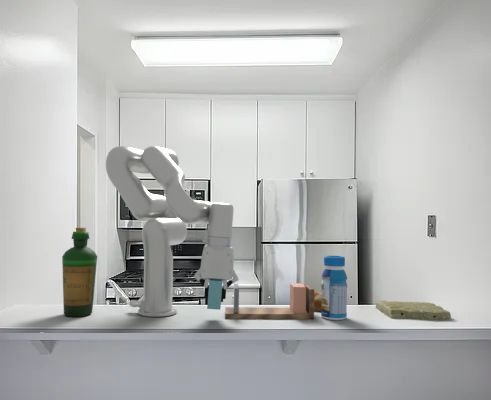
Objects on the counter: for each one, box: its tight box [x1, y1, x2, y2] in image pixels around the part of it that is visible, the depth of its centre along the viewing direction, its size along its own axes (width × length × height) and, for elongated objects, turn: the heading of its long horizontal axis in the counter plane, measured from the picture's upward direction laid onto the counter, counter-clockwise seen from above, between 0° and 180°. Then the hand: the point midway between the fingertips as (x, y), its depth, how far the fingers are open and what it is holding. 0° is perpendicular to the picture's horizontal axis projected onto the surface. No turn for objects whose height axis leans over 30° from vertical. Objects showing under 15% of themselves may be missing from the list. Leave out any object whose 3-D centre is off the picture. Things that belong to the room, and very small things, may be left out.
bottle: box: [61, 227, 98, 318], centre depth 141 cm, size 11×11×28 cm
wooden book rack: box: [224, 283, 315, 320], centre depth 144 cm, size 28×10×10 cm, turn 93°
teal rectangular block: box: [206, 279, 223, 311], centre depth 136 cm, size 4×8×8 cm, turn 3°
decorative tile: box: [375, 300, 452, 321], centre depth 150 cm, size 19×20×4 cm
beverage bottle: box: [320, 255, 348, 321], centre depth 142 cm, size 8×8×20 cm
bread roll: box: [314, 291, 322, 312], centre depth 156 cm, size 10×10×8 cm
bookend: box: [232, 283, 240, 313], centre depth 144 cm, size 2×9×8 cm, turn 3°
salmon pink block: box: [289, 282, 306, 314], centre depth 145 cm, size 4×8×8 cm, turn 2°
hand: (214, 300), depth 136 cm, fingers closed on teal rectangular block, 4 cm apart
